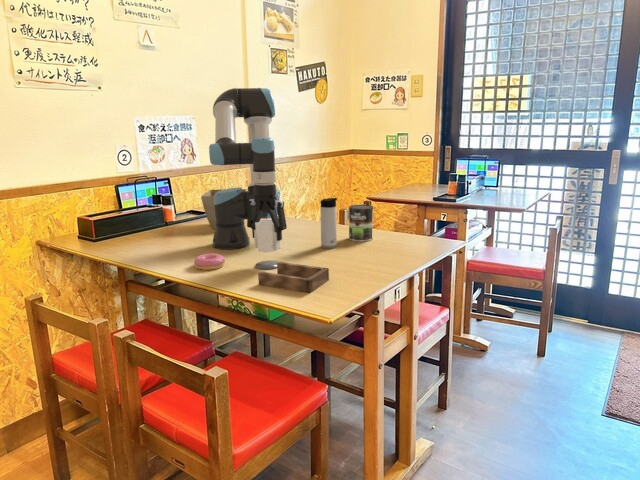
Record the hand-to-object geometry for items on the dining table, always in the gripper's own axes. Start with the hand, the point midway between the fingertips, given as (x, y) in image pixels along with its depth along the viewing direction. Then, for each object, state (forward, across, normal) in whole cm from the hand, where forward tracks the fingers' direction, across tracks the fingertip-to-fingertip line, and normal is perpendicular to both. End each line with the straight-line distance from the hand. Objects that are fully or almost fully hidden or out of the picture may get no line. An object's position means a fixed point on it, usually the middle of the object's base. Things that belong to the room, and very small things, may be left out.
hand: (267, 248), depth 174 cm
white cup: (+1, 0, 0) cm, 1 cm away
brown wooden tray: (+7, +17, -12) cm, 22 cm away
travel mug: (+7, +9, +32) cm, 34 cm away
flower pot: (+6, -53, +47) cm, 71 cm away
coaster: (+7, 0, 0) cm, 7 cm away
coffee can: (+7, +16, +49) cm, 52 cm away
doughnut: (+7, -19, -9) cm, 22 cm away
